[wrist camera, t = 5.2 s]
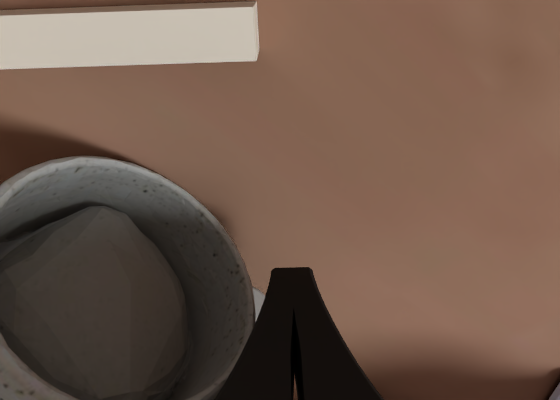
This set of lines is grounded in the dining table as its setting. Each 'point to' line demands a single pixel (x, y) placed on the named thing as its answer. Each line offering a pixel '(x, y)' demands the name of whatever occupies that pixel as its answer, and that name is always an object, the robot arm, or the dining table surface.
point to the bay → (129, 35)
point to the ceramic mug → (116, 287)
